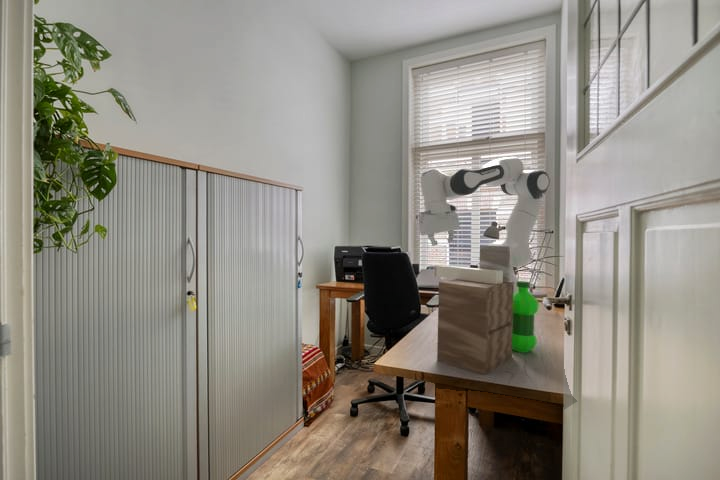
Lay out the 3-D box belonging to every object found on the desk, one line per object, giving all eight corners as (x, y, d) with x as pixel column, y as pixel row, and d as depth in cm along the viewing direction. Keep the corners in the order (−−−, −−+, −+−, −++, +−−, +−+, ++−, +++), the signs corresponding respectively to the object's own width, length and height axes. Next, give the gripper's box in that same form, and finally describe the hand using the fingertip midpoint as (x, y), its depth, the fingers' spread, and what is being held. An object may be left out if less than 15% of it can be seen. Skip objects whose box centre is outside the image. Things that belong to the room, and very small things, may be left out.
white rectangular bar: (442, 275, 132) (442, 264, 132) (502, 283, 114) (503, 270, 114) (434, 276, 129) (435, 265, 129) (495, 284, 111) (496, 271, 111)
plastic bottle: (528, 357, 119) (530, 284, 119) (500, 348, 128) (502, 280, 127) (542, 351, 125) (544, 282, 125) (515, 343, 134) (516, 279, 133)
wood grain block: (468, 345, 130) (470, 244, 129) (511, 356, 119) (514, 246, 118) (437, 360, 114) (439, 245, 113) (484, 375, 103) (487, 247, 102)
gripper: (423, 210, 130) (430, 246, 129) (459, 206, 141) (465, 239, 141) (412, 213, 135) (418, 248, 134) (447, 209, 147) (453, 241, 146)
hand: (443, 243), depth 138 cm, fingers open, 8 cm apart
